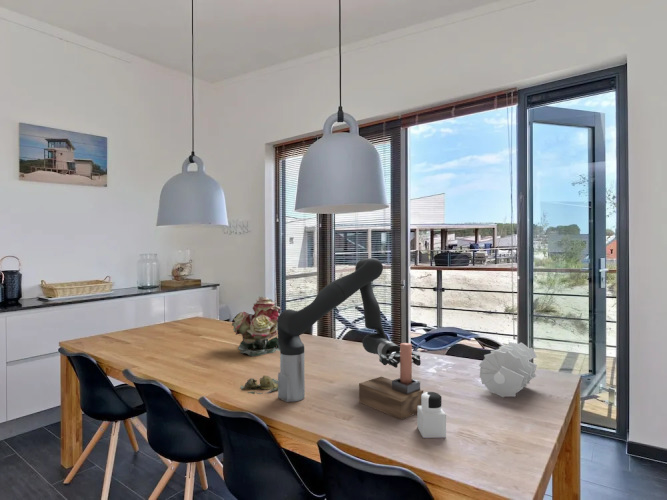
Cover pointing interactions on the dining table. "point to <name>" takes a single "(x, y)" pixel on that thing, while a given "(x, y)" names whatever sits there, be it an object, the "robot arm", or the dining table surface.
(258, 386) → the mossy rock cluster
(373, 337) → the robot arm
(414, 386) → the brown wooden block
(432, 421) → the medicine bottle
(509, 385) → the spiral staircase
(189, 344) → the dining table surface
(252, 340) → the rose bouquet
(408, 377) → the key peg
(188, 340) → the dining table surface
